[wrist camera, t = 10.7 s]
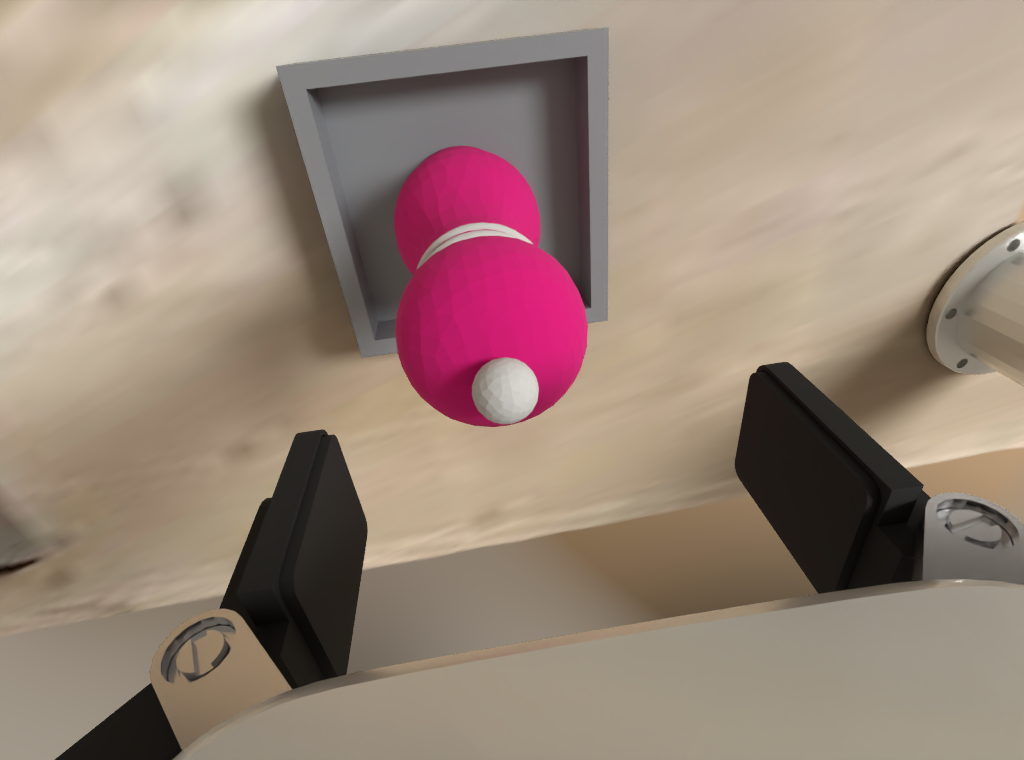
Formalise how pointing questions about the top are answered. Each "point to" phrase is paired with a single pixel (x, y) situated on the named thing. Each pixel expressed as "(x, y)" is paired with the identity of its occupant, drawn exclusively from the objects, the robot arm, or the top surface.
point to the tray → (446, 123)
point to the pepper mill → (482, 293)
